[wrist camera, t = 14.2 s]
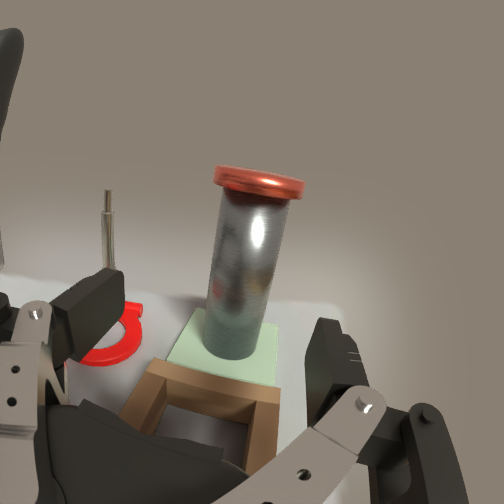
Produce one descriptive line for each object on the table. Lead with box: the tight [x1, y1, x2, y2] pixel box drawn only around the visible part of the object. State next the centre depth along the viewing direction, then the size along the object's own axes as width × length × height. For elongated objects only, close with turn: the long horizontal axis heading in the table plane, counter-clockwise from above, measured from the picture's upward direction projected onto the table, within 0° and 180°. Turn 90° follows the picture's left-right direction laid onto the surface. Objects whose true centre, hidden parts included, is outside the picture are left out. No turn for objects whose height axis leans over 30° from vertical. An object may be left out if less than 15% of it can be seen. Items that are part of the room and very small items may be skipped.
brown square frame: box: [118, 358, 281, 476], centre depth 13 cm, size 9×9×3 cm
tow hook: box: [79, 188, 143, 366], centre depth 20 cm, size 8×13×9 cm
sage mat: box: [167, 307, 279, 387], centre depth 25 cm, size 9×9×1 cm
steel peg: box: [202, 165, 305, 360], centre depth 22 cm, size 7×7×15 cm
